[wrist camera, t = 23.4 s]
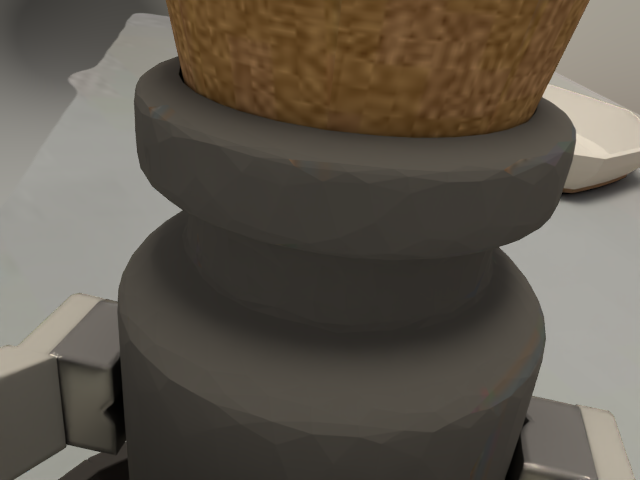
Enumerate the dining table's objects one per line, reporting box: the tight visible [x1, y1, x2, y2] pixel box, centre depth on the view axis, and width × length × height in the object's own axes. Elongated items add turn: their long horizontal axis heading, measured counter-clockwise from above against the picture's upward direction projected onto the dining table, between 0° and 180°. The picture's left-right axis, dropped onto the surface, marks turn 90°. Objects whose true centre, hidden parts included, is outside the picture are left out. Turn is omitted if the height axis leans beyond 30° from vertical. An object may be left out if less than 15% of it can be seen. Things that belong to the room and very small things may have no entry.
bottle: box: [117, 0, 590, 480], centre depth 10 cm, size 6×6×15 cm
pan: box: [542, 84, 640, 193], centre depth 59 cm, size 25×44×6 cm, turn 82°
